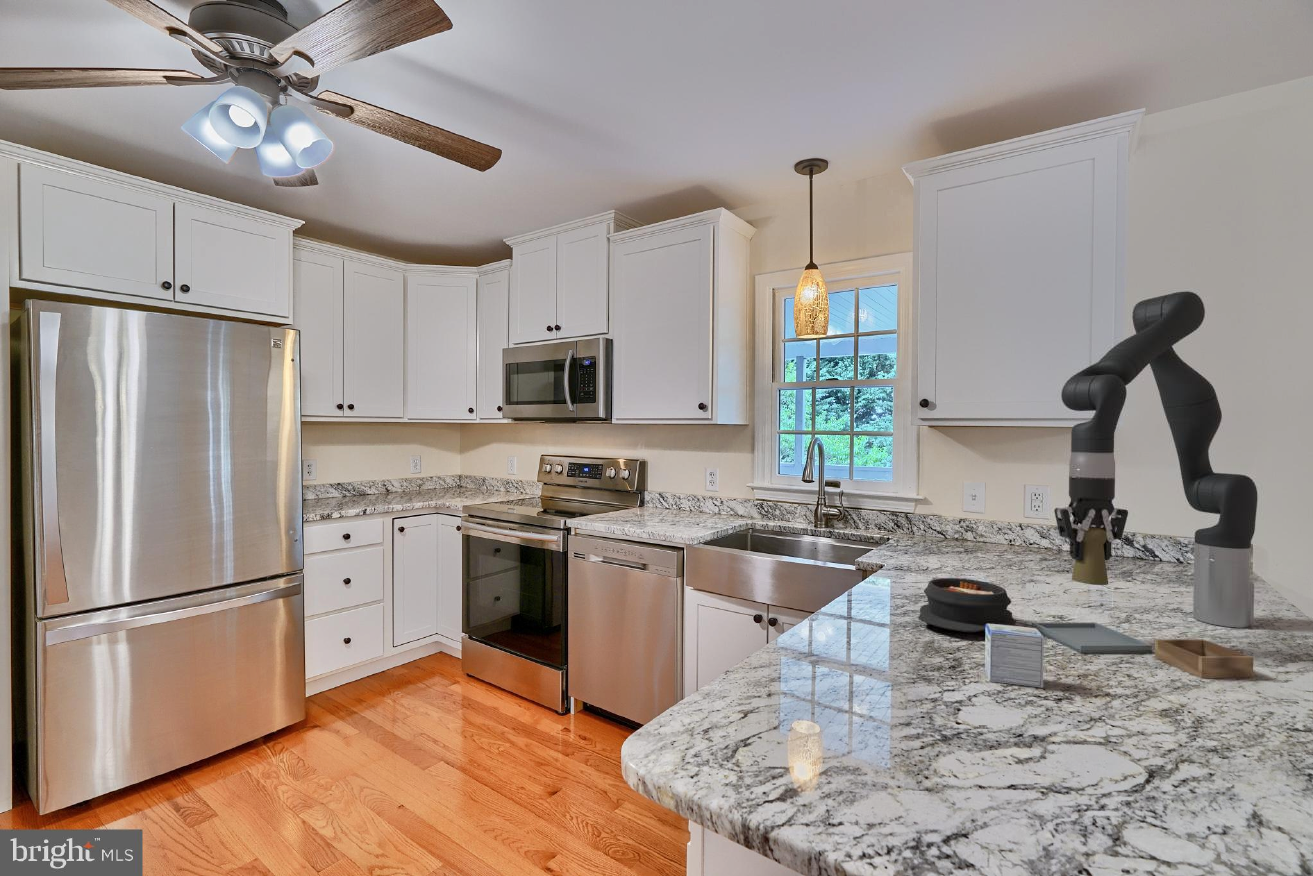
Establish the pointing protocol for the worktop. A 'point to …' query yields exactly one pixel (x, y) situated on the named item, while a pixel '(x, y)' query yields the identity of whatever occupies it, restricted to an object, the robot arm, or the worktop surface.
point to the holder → (1204, 658)
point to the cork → (1092, 559)
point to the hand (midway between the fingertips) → (1090, 559)
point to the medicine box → (1014, 655)
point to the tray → (1091, 638)
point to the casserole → (965, 605)
